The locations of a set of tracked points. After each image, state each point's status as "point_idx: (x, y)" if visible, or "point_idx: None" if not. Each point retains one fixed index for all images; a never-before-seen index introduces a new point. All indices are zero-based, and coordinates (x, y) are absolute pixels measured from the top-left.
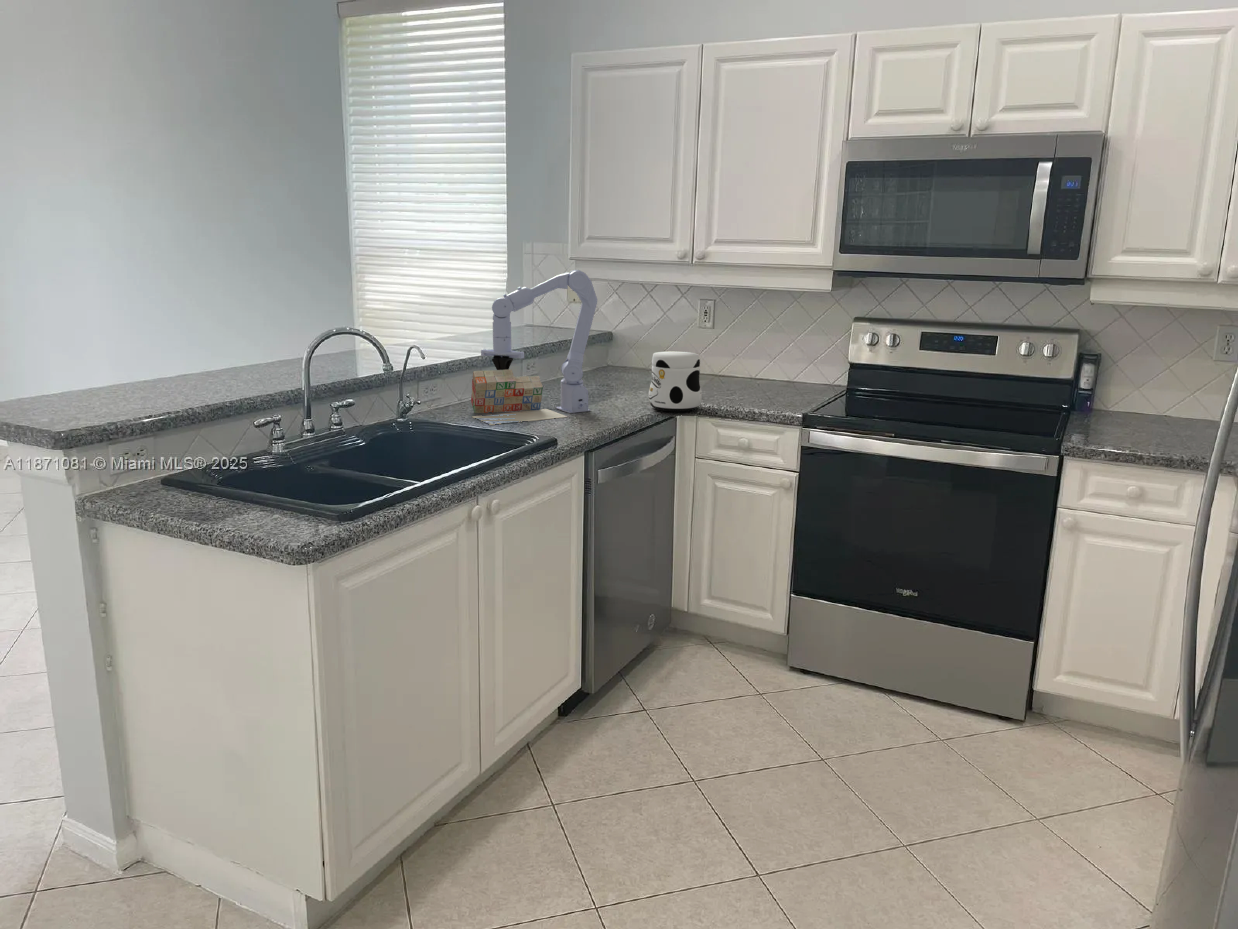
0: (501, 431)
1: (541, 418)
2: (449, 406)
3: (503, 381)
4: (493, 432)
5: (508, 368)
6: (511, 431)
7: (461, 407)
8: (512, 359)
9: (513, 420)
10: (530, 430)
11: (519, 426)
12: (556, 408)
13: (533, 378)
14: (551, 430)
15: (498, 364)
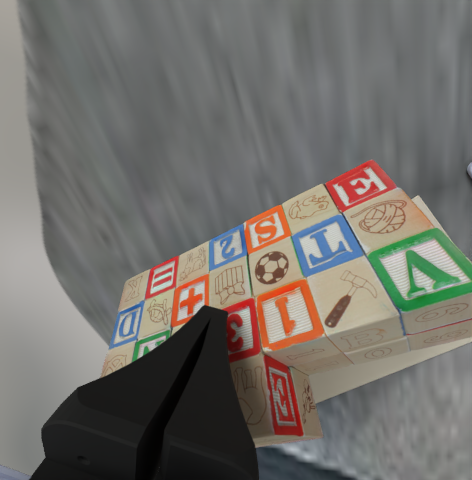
0: (310, 463)
1: (403, 358)
2: (50, 214)
3: (260, 446)
4: (295, 468)
5: (228, 373)
6: (333, 464)
7: (90, 222)
8: (254, 471)
9: (315, 384)
10: (380, 460)
11: (344, 428)
12: (470, 175)
13: (430, 315)
14: (439, 463)
15: (159, 460)
